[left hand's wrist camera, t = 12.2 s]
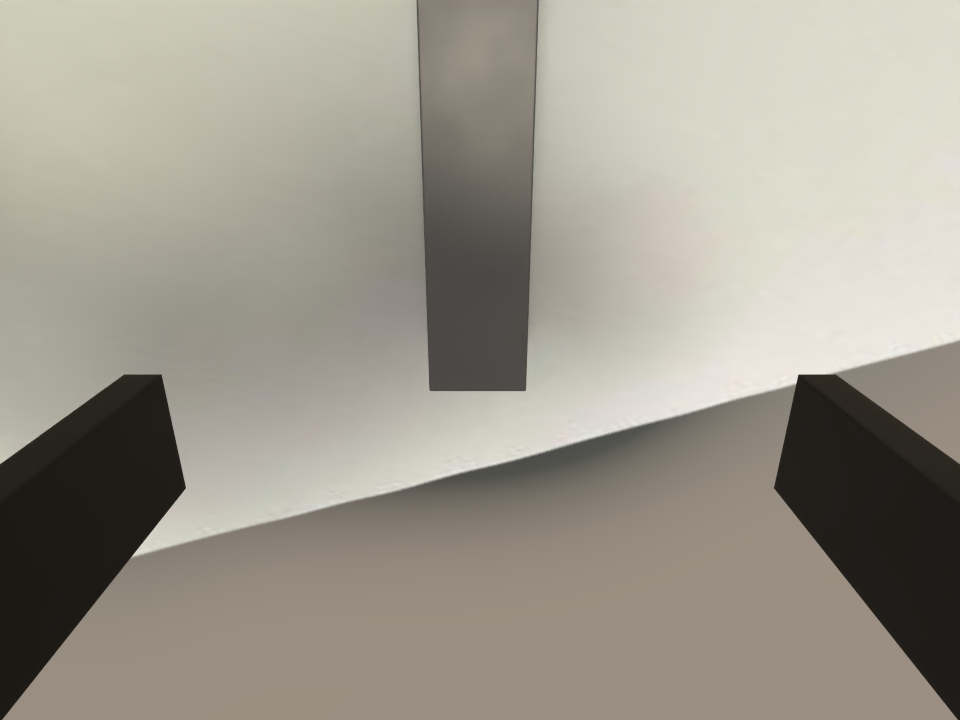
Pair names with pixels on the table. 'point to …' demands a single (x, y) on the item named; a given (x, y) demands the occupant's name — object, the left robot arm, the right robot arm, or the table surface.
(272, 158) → the table surface
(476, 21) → the post
